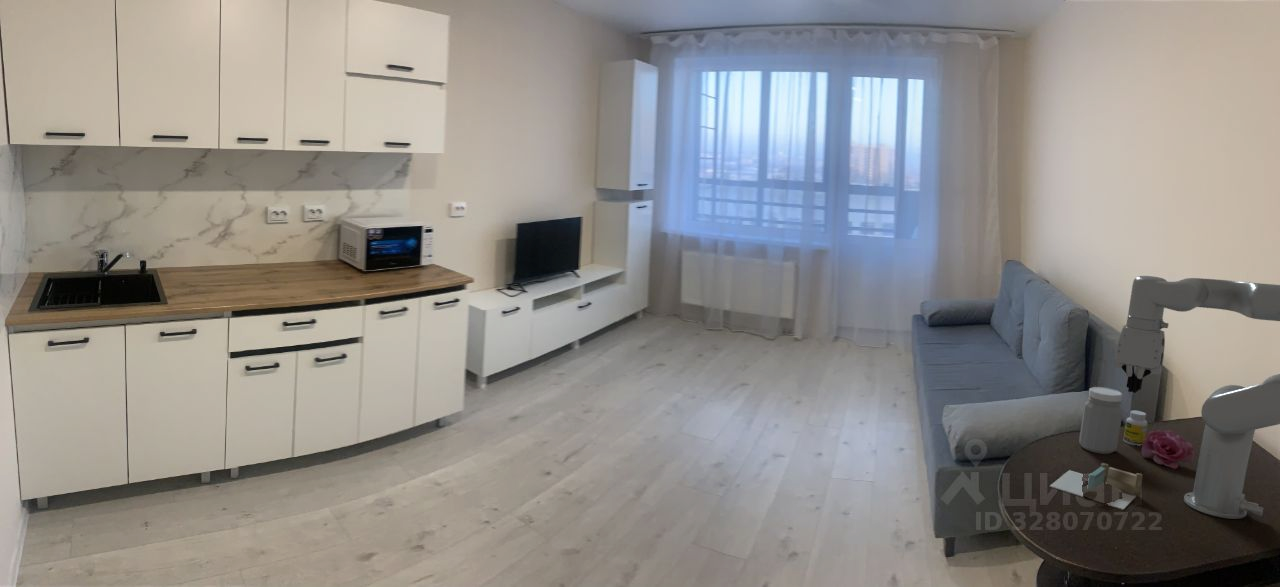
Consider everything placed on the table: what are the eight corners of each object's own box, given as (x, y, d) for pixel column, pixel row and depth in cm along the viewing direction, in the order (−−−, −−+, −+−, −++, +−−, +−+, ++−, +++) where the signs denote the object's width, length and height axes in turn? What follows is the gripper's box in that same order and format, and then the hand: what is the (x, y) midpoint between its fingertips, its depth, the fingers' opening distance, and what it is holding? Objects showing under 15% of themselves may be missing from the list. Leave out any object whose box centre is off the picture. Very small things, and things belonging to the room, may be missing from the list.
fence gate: (1097, 483, 200) (1100, 466, 199) (1103, 484, 199) (1106, 467, 198) (1085, 492, 194) (1088, 474, 193) (1091, 494, 193) (1094, 476, 192)
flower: (1179, 481, 212) (1165, 455, 209) (1146, 469, 221) (1133, 444, 219) (1205, 455, 214) (1193, 429, 211) (1172, 445, 223) (1159, 419, 221)
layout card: (1140, 492, 197) (1140, 490, 197) (1123, 510, 187) (1123, 508, 187) (1069, 471, 209) (1069, 469, 209) (1049, 486, 199) (1050, 485, 199)
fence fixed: (1139, 496, 195) (1143, 474, 193) (1138, 497, 194) (1141, 476, 192) (1099, 483, 201) (1102, 462, 200) (1097, 485, 200) (1100, 464, 199)
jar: (1070, 444, 228) (1078, 387, 225) (1094, 440, 232) (1102, 384, 228) (1100, 456, 219) (1109, 397, 216) (1124, 452, 223) (1133, 394, 219)
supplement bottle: (1119, 440, 232) (1123, 410, 230) (1130, 438, 234) (1135, 408, 232) (1136, 447, 227) (1141, 416, 225) (1148, 444, 229) (1153, 414, 228)
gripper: (1181, 327, 193) (1170, 395, 197) (1115, 316, 204) (1105, 381, 207) (1174, 331, 188) (1162, 401, 192) (1107, 320, 199) (1097, 387, 202)
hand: (1133, 391), depth 199 cm, fingers closed
